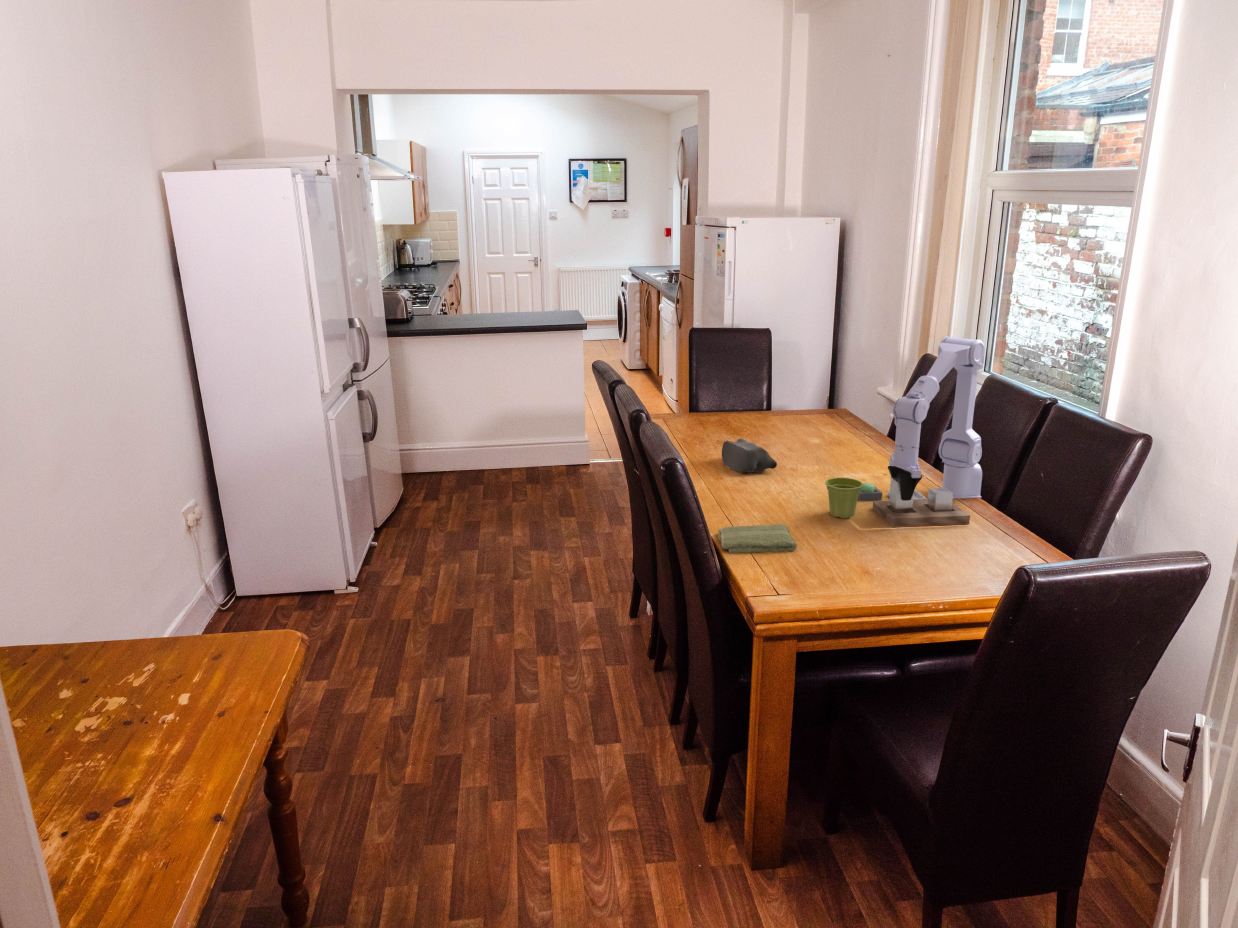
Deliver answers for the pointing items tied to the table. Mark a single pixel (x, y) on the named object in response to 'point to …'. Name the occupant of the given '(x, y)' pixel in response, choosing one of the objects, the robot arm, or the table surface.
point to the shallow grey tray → (915, 495)
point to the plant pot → (843, 496)
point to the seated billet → (940, 499)
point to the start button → (867, 487)
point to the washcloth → (756, 539)
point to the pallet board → (919, 514)
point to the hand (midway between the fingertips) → (902, 496)
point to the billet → (898, 495)
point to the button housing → (870, 495)
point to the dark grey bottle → (746, 457)
